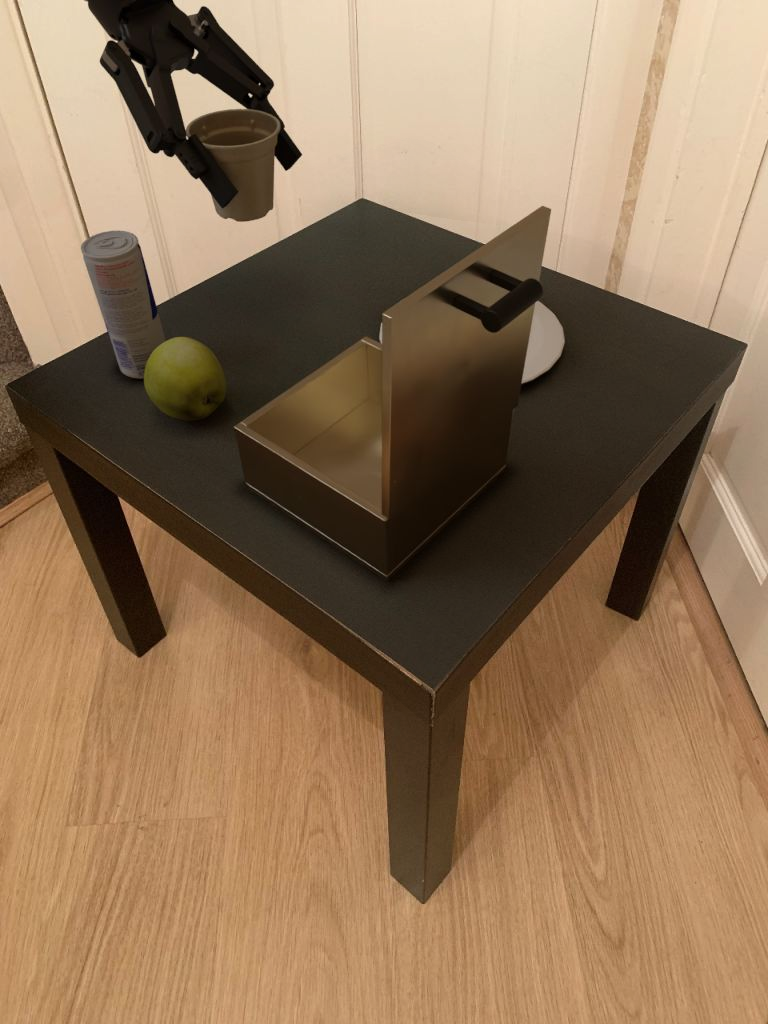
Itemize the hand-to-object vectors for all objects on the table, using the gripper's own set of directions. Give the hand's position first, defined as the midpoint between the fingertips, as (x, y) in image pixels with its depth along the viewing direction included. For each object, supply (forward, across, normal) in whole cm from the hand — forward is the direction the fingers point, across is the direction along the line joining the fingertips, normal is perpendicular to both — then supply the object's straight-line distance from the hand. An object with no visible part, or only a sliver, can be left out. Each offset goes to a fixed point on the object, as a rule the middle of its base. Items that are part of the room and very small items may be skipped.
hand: (263, 181), depth 81 cm
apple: (+14, +17, -11) cm, 25 cm away
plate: (+27, -8, +2) cm, 28 cm away
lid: (+23, +17, +23) cm, 37 cm away
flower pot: (+1, 0, -5) cm, 5 cm away
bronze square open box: (+29, +16, +5) cm, 34 cm away
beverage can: (+7, +15, -18) cm, 24 cm away
